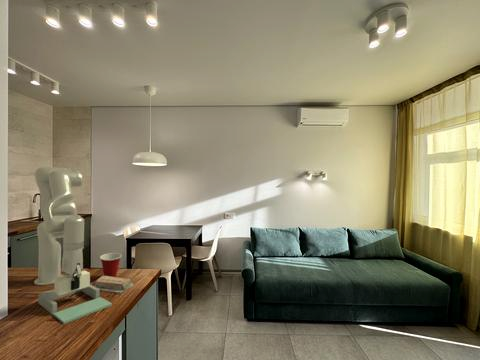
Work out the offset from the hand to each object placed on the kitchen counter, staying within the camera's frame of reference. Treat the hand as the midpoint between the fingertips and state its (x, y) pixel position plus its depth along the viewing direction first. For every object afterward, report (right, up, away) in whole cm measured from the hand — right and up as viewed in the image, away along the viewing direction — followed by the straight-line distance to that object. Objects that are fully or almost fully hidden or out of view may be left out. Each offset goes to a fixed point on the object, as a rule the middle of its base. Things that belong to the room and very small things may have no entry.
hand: (72, 286), depth 111 cm
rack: (-2, -7, +1) cm, 7 cm away
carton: (0, -1, 0) cm, 1 cm away
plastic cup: (+2, -7, +29) cm, 30 cm away
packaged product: (+9, -8, +16) cm, 20 cm away
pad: (+9, -7, -7) cm, 13 cm away
